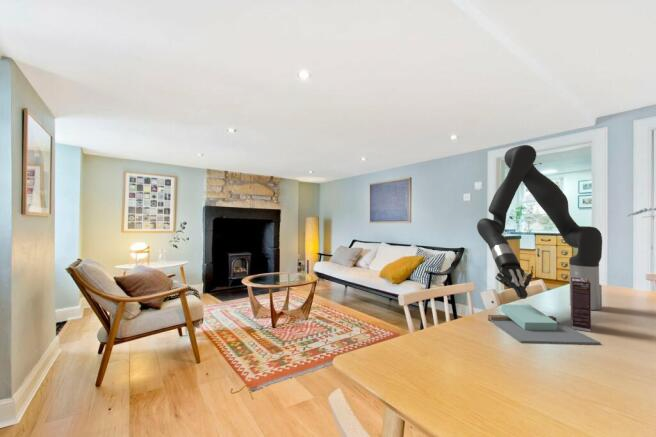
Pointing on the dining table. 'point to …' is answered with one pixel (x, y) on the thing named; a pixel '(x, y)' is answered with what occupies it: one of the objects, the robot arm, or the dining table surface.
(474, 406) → the dining table surface
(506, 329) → the grey board with ledge
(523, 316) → the tile
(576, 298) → the supplement box
